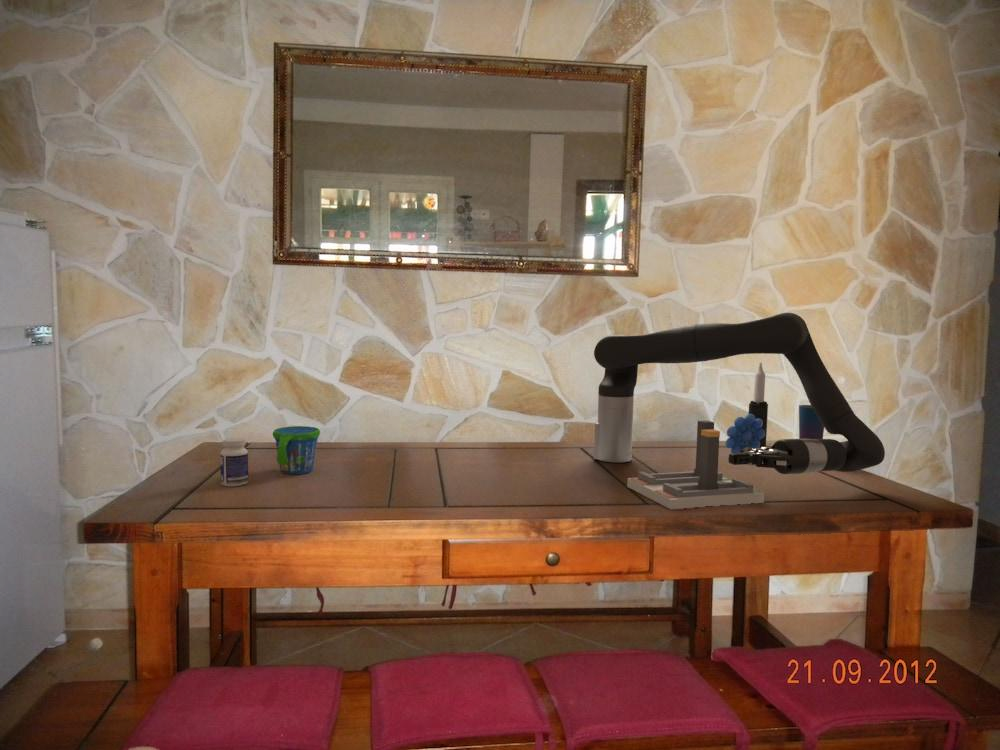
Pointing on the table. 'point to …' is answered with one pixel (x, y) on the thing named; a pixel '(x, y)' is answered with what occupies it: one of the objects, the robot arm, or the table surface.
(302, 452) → the snack cup
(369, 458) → the table surface
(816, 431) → the cup
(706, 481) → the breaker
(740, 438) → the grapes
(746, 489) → the panel
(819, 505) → the table surface
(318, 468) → the table surface
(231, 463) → the pill bottle
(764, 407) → the candle
